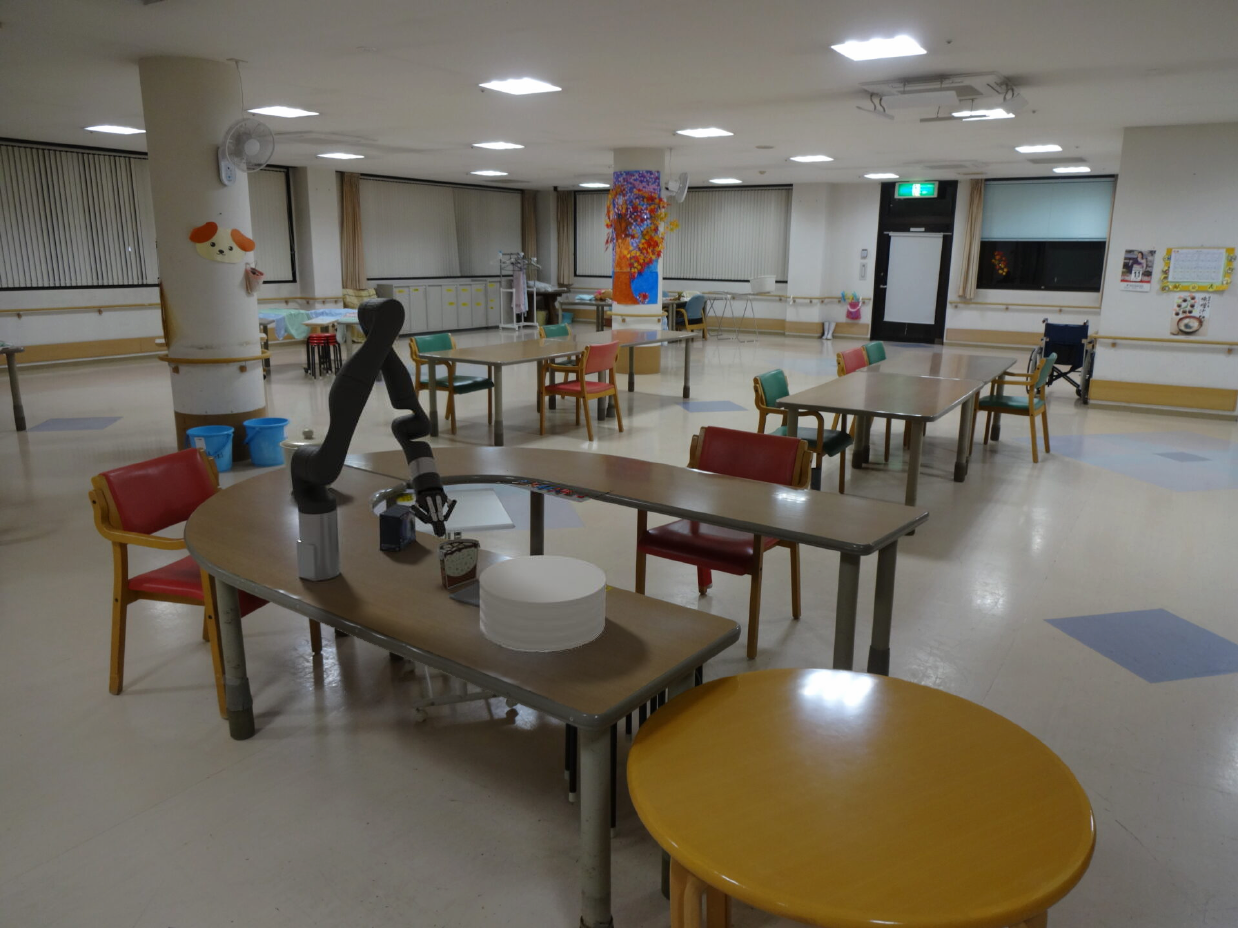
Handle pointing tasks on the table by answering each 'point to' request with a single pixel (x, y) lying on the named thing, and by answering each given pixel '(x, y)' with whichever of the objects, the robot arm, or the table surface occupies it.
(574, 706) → the table surface
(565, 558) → the plate stack
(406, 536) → the small box
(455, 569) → the cake slice
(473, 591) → the rubber mat
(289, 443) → the canister
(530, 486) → the gear board
